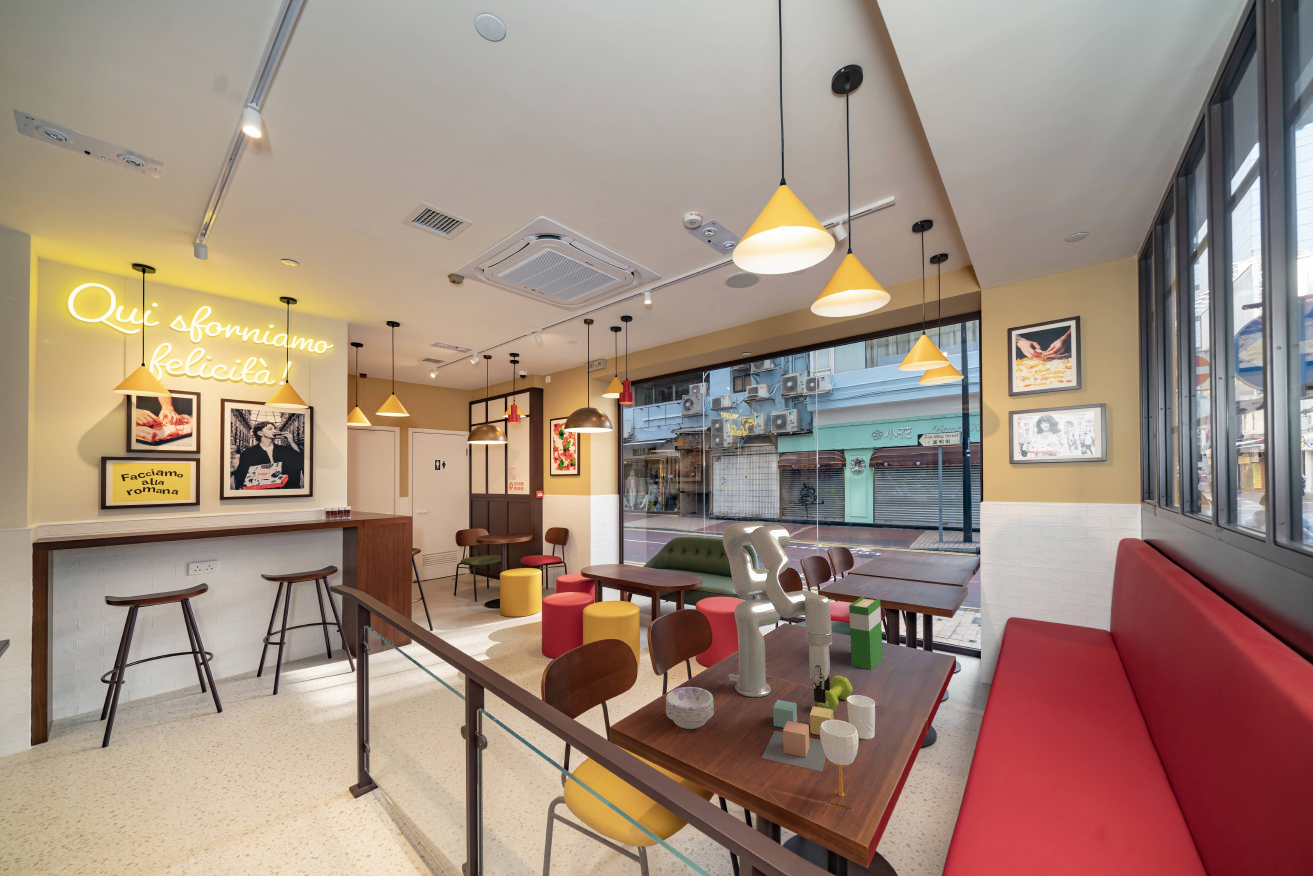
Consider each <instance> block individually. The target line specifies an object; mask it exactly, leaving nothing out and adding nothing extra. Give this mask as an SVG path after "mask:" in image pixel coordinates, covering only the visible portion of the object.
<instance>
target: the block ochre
mask: <svg viewBox="0 0 1313 876" xmlns="http://www.w3.org/2000/svg"><path fill="white" fill-rule="evenodd" d="M834 718H835V717H834V712H833V710H831V709H826V708H820V707H818V706H812V707H811V711H810V713H809V734H814V735H818V736H820V727H821V724H822V723H823V722H824V721H827V720H835V719H834Z"/></svg>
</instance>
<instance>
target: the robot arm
mask: <svg viewBox="0 0 1313 876" xmlns="http://www.w3.org/2000/svg"><path fill="white" fill-rule="evenodd" d="M790 544H791V537H790V533H789V531H788V530H787V529H786V528H785V527H784V526H782V525H780V524H776V523H771V522H766V521H747V522H745V521H743V522H735V523H731V524H729V525H727V526H726V527H725V529H724V530H723V533H722V545H723V548H724V551H725V554H726V557H727V558H728V562H729V563H728V564H729V567H730V574H731V578H732V580H731V581H732V585H733V589H734V593H735V594H736V595H737V596H738V597H741V598H747V597H753V596H754V597H755V596H759V598H757V599H750V600H745V601H742V602H739V603H738V604H737V605H736V606H735V609H734V619H735V624H736V628H737V629H736V631H737V642H738V643H737V645H738V673H737V674H733V673H728V676H727V677H728V680H729V682H731V683H735V685H734V687H735V691H736V692H737V693H738V694H740V695H742V696H745V697H751V698H759V697H765V696H767V695H769V694H770V693H771V690H772V689H771V686H770V685H769V683H768V682H767V675H766V673H767V671H766V643H765V642H766V641H765V638H764V635H763V634H762V632H761V631H760V628H761V627H766V626H771V625H775V624H777V623H778V622H779V621H780V619H781V617H782V618H785V619H789V618H790V619H791V618H796V617H801V616H804V619H805V621H804V622H805V639H806V643H807V644H808V645H809V649H808V651H809V652H808V663H809V679H811V680H812V679H814V680H813V699H814V702H815V703H816V702H819V703H826V694H825V690H826V691H830V682H831V680H830V671H831V660H830V657H831V655H830V646H831V645H832V644H833V635H832V633H833V632H832V618H831V602H830V599H829V598H828V597H827V596H825V595H822V594H821V595H820V594H816V593H815V592H812V591H811V590H807V589H805V590H804V589H803V590H796V591H789V592H785V591H784V588H782V586H781V583H780V581H779V576H780V575H781V574H782V573H784V572H785V571H786V570H787V569H788V568H789V566H790V563H791V561H790V559H789V557H788V555H787V553H786V551H785V550H784V549H786V548H788V546H789V545H790ZM744 546H753V548H754V550H755V553H756V554H757V556H758V557H759V559H760V561H761V562H762V564H763V566H764V568H754V565H753V560H752V556H751V555H750V553H749V551H748V550H747V549H746V548H745V547H744Z"/></svg>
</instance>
